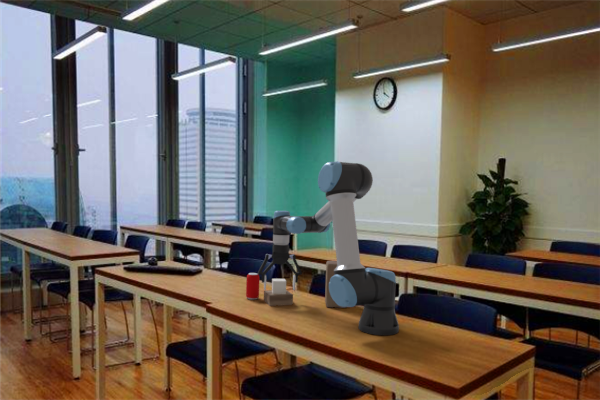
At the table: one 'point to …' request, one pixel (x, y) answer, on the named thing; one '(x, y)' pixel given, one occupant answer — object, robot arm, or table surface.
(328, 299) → the wooden block
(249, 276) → the beverage can
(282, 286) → the cream cube
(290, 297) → the walnut block
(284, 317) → the table surface
